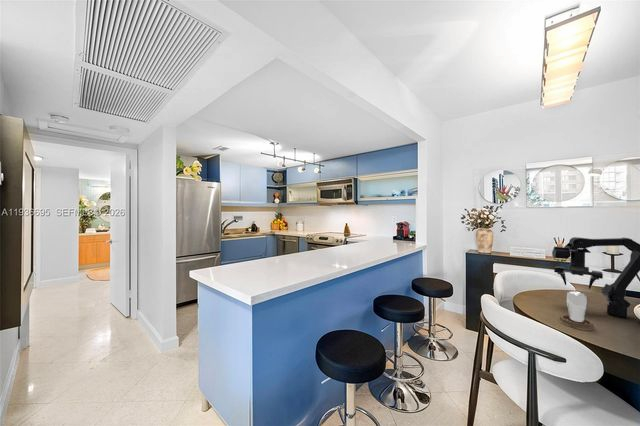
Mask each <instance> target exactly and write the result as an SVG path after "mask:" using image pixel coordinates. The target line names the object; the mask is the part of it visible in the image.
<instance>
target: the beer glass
mask: <svg viewBox="0 0 640 426" xmlns="http://www.w3.org/2000/svg"><path fill="white" fill-rule="evenodd" d="M566 292H567V294H566V305H567V310H568V315H569V318H568V320H569V321H571V322H575V323H579V324H585V321H584V318H585V315H586V311H587V308H588V307H587V306H588V304H587V303H588V298H587V294H586V293H583V292H580V291H575V290H574V291H573V290H572V291H571V290H570V291H566Z"/></svg>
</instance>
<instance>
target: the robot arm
mask: <svg viewBox="0 0 640 426" xmlns="http://www.w3.org/2000/svg"><path fill="white" fill-rule="evenodd" d="M568 241H569V242H568V243H566V244H565V245H564V246H563V247H562V246H553V248H552V252H551V254H552V258H553V259H562V260H568V259H569V260H570V262H569V264H570V265H569V268H565V267H564V266H557V265H556V266H555V267H554V269H553V271H554V273H557V275H559V276H560V277H561V278H562V280H563V281H562V282H563V283H564V286H567V278H566V273H570V274H571V275H573V276H575V275H576V276H582V277H583V276H584V275H586V276H590V277H589V283H588V289H589V290H591V288H592V286H593V284H594V283H595V282H596V281H597V280H600V279H604V277H603V276H604V273H603V272H602V271H601V270H600V271H599V270H591V271H590V267H589V266H586V253H587V254H588V253H589V254H590V253H592V252H591V251H590V250H589V249H588V248H591V247H608V246H609V247H617V246H618V247H619V246H622V247H625V248H626V249H627V250H629V251H631V252H630V256H629V258H630V259H629V261H628V263H627V265H626V266H625V267H624V268H623V270H622V271H621V273H619V275H618V276H617V278H616V279H615V281H614V282H613V283H610V284H608V283H605V284H604V286H603V288H601V294H602V296H603V297H604V298H605V299H606V300H607V301H608V304H606V313H607V314H608V316H612V317H618V318H621V319H628V308H630V306H631V303H630V302H629V301H628V300H626V299H625V297H626V292H627V288H628V287H629V285H630V284H631V283H632V281H633V280H634V279H635V278H636V277H637V275H638V273H639V272H640V243H638V242H636V241H635V240H634V239H632V238H629V237H618V238H617V237H615V238H613V237H611V238H588V237H587V238H586V237H577V236H575V237H573V236H572V237H571V238H570V239H569V240H568Z"/></svg>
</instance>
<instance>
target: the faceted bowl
mask: <svg viewBox="0 0 640 426" xmlns="http://www.w3.org/2000/svg"><path fill="white" fill-rule="evenodd" d="M568 318H569V314H559V318H558V322H559V323H560V324H562V325H563V326H567V327H569V328H572V329H575V328H576V330H580V329H581V331H591V332H592V331H594V330H595V326H594V322H593V321H591V320H590V319H588V318H585V317H584V321H585V324H579V323H575V322H571V321H569V320H568Z"/></svg>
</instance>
